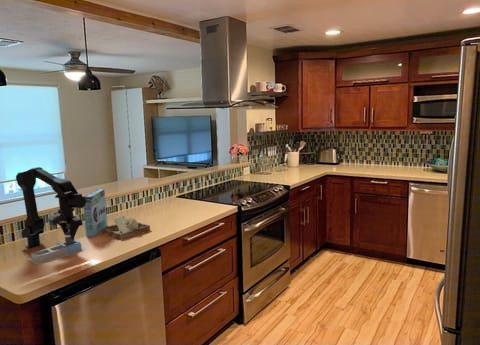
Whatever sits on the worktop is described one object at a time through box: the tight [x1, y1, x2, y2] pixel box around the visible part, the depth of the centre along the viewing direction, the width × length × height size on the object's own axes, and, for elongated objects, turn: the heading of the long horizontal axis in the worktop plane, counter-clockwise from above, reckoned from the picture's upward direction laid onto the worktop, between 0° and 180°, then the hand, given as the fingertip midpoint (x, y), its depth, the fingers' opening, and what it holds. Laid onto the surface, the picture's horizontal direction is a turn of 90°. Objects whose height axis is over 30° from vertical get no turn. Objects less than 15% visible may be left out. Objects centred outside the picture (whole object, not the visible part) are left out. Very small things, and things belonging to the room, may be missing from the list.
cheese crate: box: [101, 221, 151, 241], centre depth 209 cm, size 19×19×3 cm
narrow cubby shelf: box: [27, 239, 88, 266], centre depth 175 cm, size 12×23×5 cm, turn 140°
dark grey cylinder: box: [63, 231, 75, 246], centre depth 180 cm, size 4×4×9 cm
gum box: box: [82, 188, 108, 238], centre depth 210 cm, size 20×5×23 cm, turn 178°
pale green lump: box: [113, 215, 138, 234], centre depth 207 cm, size 15×7×15 cm
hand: (69, 237), depth 179 cm, fingers open, 6 cm apart
